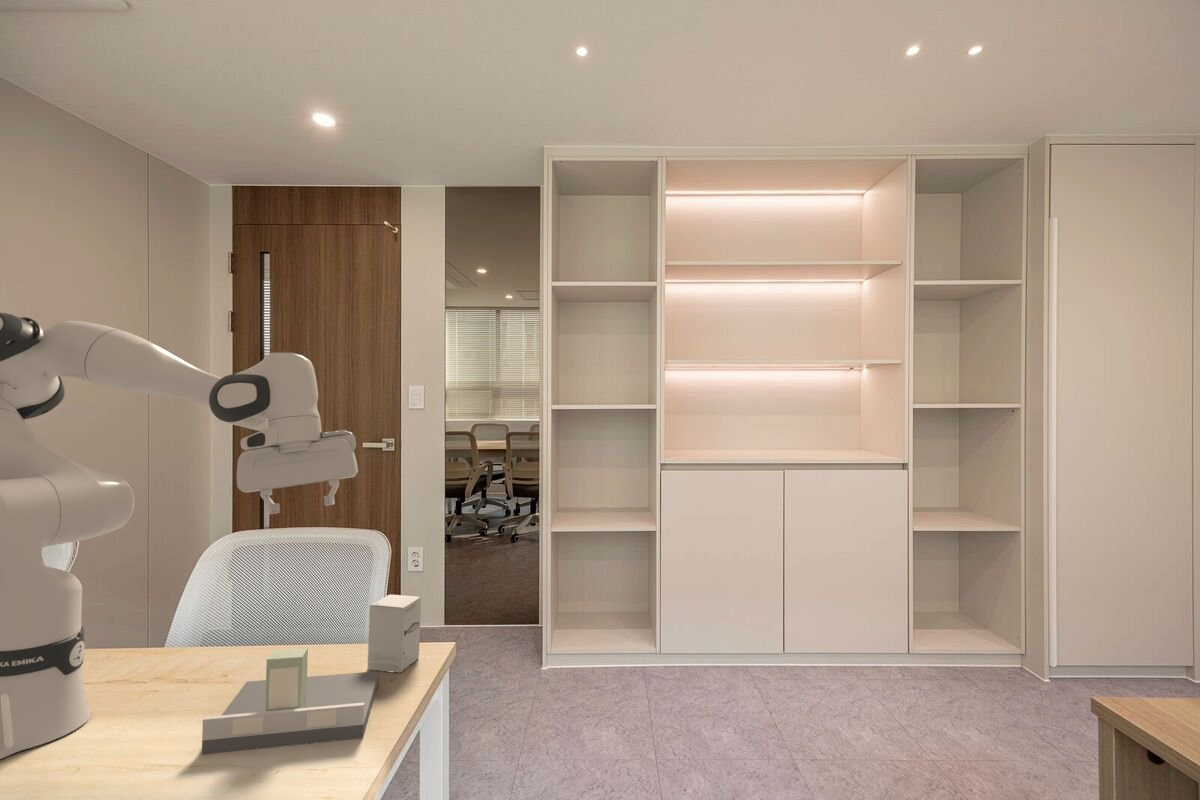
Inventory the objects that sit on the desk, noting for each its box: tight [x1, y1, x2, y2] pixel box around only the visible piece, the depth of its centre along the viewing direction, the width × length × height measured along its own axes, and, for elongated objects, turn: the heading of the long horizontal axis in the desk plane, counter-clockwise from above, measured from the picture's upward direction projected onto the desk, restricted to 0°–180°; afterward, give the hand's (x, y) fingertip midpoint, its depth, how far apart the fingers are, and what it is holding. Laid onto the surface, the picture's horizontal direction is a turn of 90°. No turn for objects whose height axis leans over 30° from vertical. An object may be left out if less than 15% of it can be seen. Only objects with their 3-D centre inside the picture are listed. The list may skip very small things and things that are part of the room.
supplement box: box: [366, 594, 422, 674], centre depth 118 cm, size 7×7×13 cm
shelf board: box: [201, 670, 380, 755], centre depth 98 cm, size 22×19×5 cm
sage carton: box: [265, 647, 309, 711], centre depth 93 cm, size 5×4×10 cm
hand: (302, 509), depth 110 cm, fingers open, 8 cm apart
